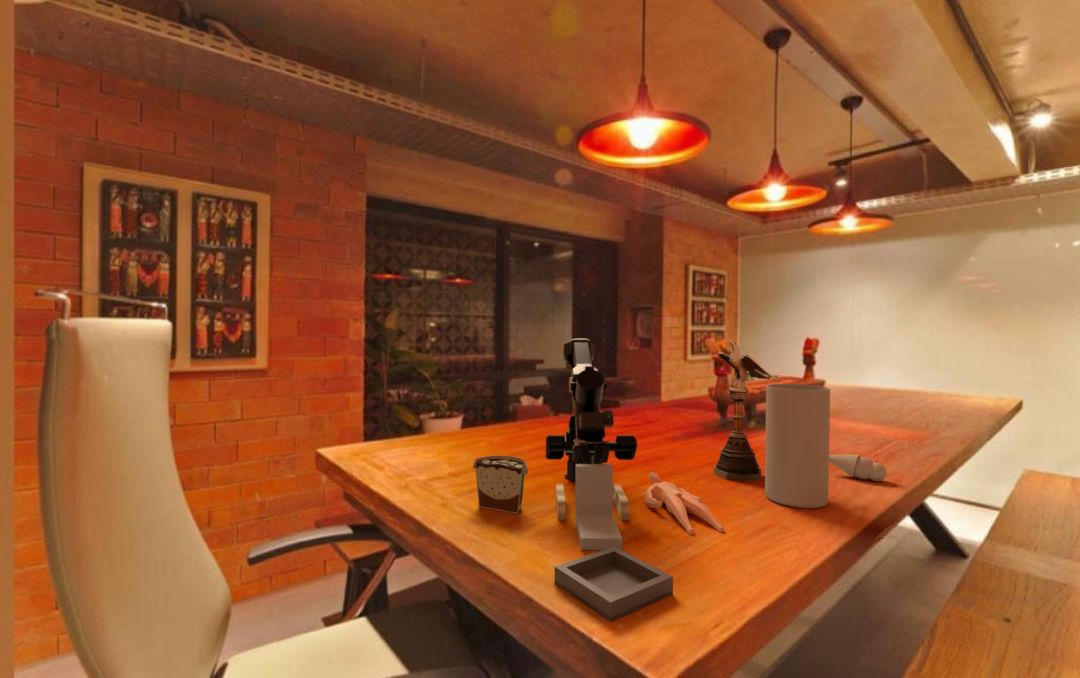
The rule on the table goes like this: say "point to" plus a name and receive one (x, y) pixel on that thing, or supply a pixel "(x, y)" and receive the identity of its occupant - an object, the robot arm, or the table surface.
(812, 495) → the cylinder vase
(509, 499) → the food container
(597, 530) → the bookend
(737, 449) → the bird statue
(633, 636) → the table surface
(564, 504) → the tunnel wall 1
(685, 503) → the male figurine
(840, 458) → the ice cream cone
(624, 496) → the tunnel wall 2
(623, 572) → the tray
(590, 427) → the robot arm
